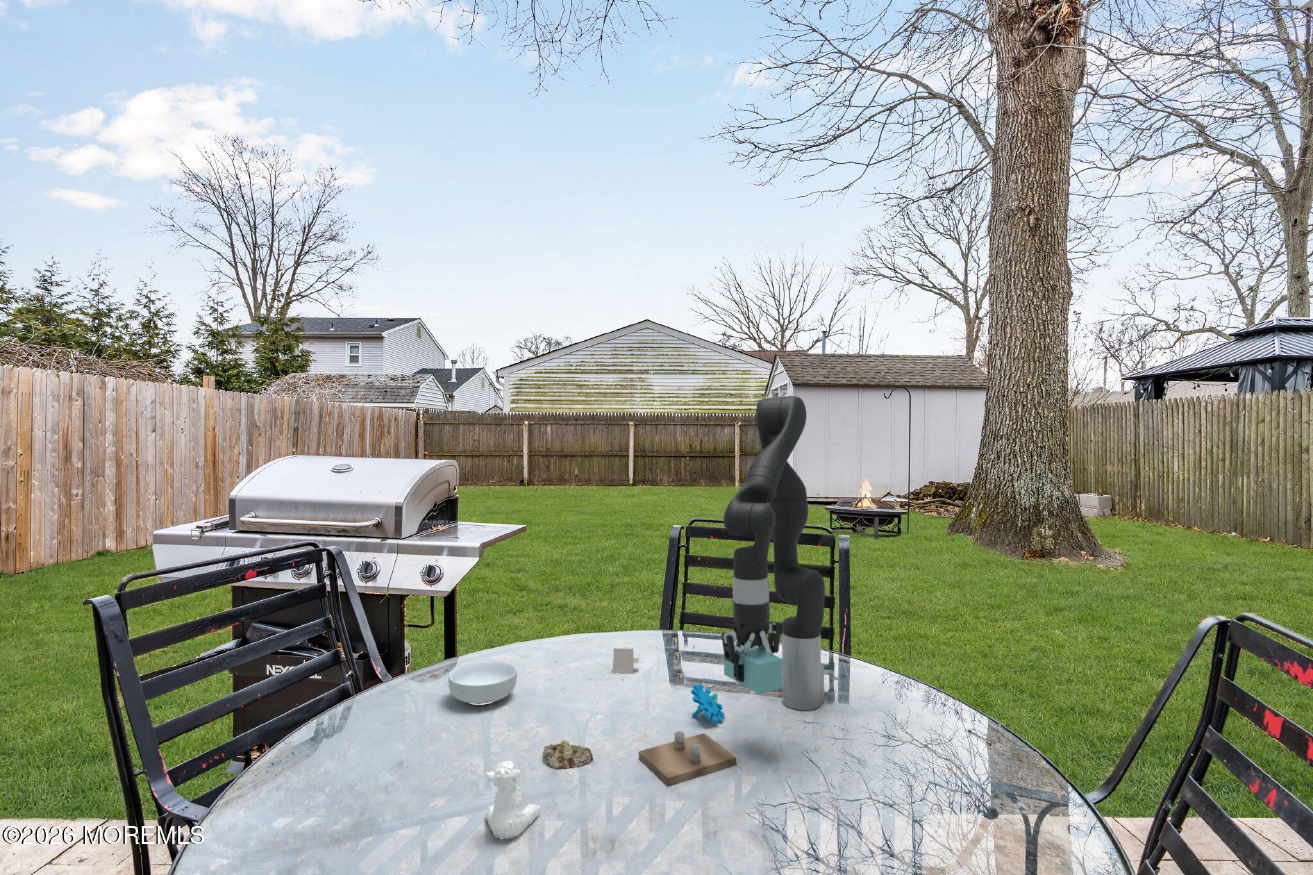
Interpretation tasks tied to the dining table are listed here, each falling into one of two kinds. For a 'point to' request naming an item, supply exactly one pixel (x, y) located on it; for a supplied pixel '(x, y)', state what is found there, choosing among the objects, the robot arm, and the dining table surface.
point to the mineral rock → (566, 755)
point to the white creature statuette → (508, 803)
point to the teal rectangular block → (758, 671)
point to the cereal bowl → (482, 681)
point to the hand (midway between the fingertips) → (752, 677)
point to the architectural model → (624, 661)
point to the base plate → (686, 758)
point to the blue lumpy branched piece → (707, 703)
